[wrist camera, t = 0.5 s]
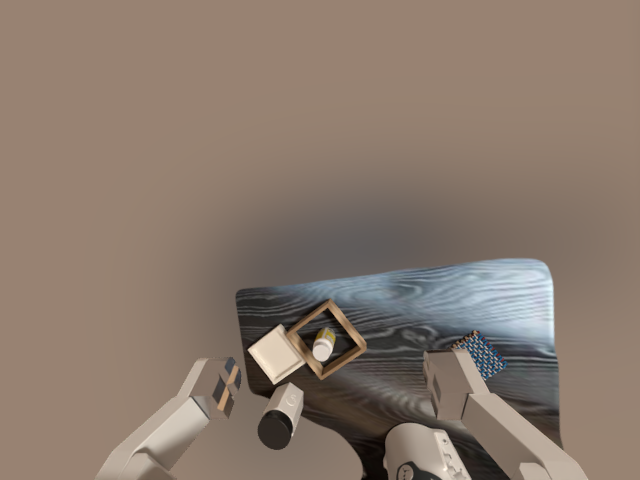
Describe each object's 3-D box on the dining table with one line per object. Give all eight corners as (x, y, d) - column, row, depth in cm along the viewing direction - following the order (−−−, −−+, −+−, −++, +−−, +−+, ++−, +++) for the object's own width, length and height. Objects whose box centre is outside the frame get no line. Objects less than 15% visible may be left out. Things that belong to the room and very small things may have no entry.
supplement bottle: (317, 342, 64) (310, 361, 56) (318, 325, 64) (311, 342, 56) (335, 345, 63) (330, 364, 55) (336, 328, 63) (331, 345, 55)
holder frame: (366, 342, 62) (366, 350, 58) (323, 371, 65) (321, 380, 61) (330, 298, 62) (328, 302, 59) (289, 328, 66) (285, 334, 62)
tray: (308, 358, 65) (306, 362, 64) (276, 380, 68) (274, 384, 66) (280, 323, 66) (278, 326, 64) (250, 346, 69) (247, 349, 67)
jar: (310, 395, 66) (297, 434, 55) (296, 416, 68) (280, 458, 56) (283, 376, 67) (265, 409, 56) (270, 397, 69) (250, 434, 57)
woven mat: (437, 352, 59) (440, 356, 57) (475, 327, 57) (479, 331, 55) (467, 385, 58) (471, 391, 56) (506, 361, 56) (511, 367, 54)
